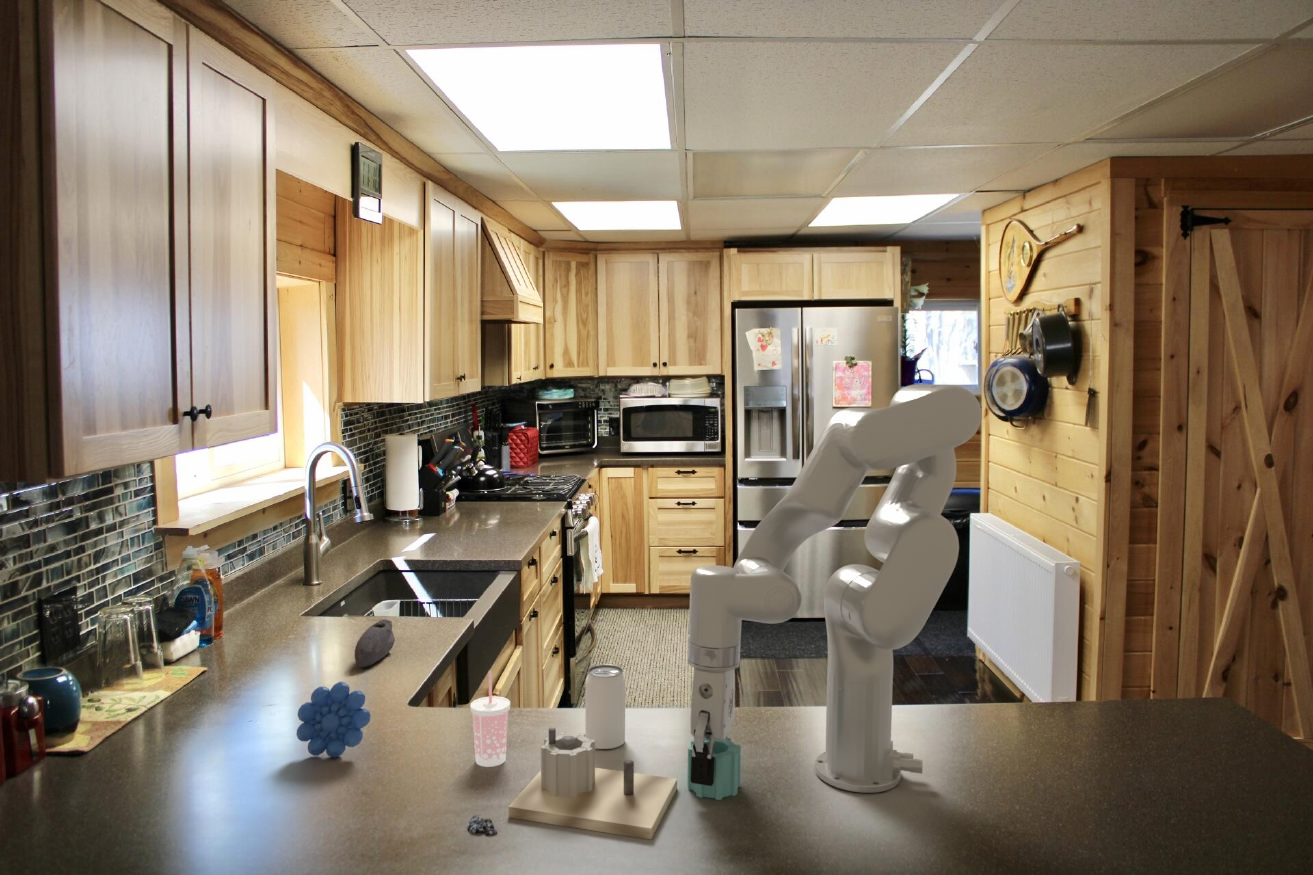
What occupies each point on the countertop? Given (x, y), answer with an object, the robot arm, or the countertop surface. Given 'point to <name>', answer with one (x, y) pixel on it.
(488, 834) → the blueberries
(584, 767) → the gear
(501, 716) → the beverage cup
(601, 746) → the can
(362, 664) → the perforated stone tool
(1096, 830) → the countertop surface
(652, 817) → the board
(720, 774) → the teal gear
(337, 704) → the blue flower ornament
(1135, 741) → the countertop surface
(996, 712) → the countertop surface
